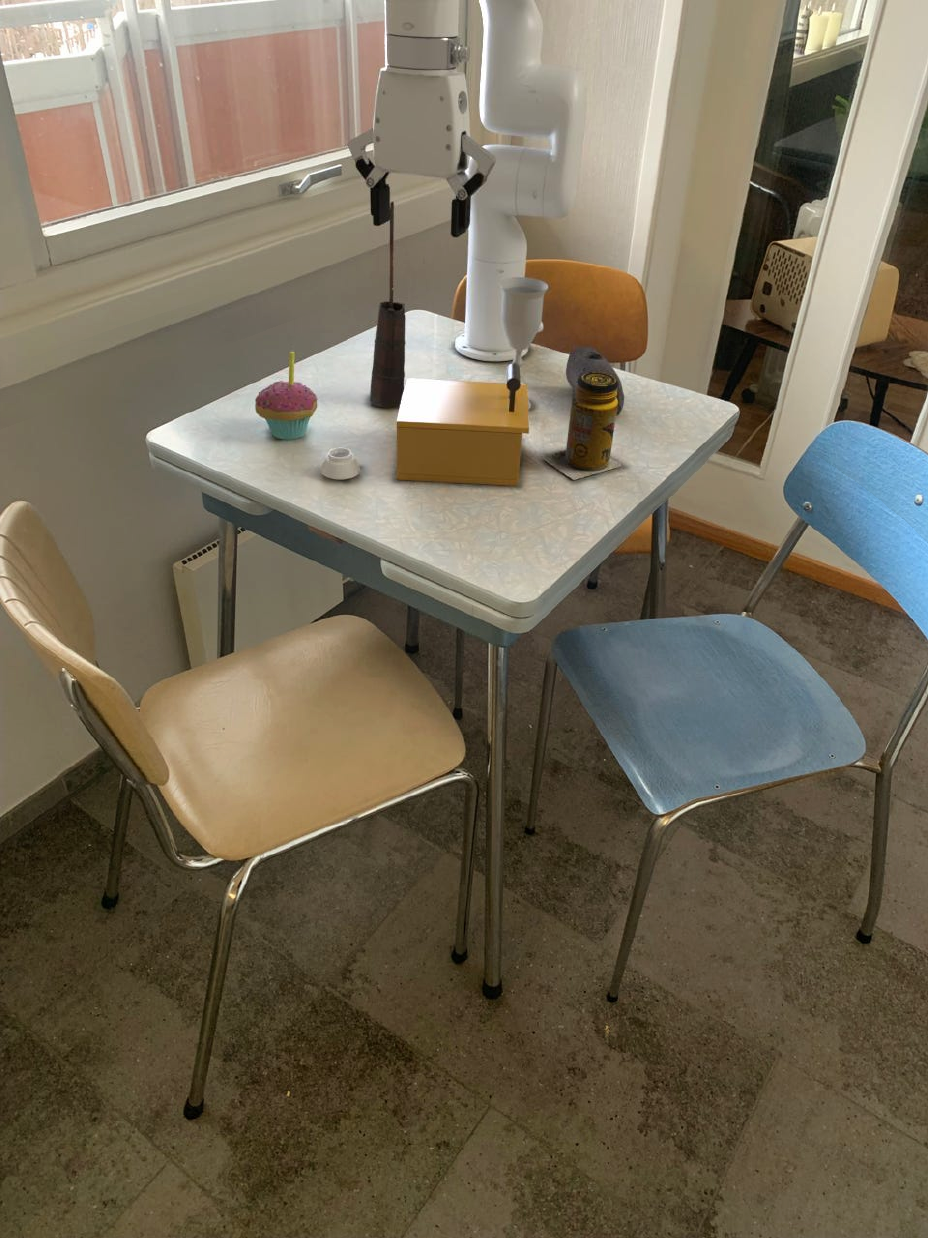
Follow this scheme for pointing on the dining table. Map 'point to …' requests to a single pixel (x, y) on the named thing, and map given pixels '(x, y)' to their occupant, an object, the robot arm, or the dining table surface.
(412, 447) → the open wooden box
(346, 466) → the white jar
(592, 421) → the condiment
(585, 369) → the perforated stone tool
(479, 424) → the lid
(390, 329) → the butter churn
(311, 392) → the cupcake
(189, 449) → the dining table surface
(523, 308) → the chalice
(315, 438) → the dining table surface
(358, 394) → the dining table surface
